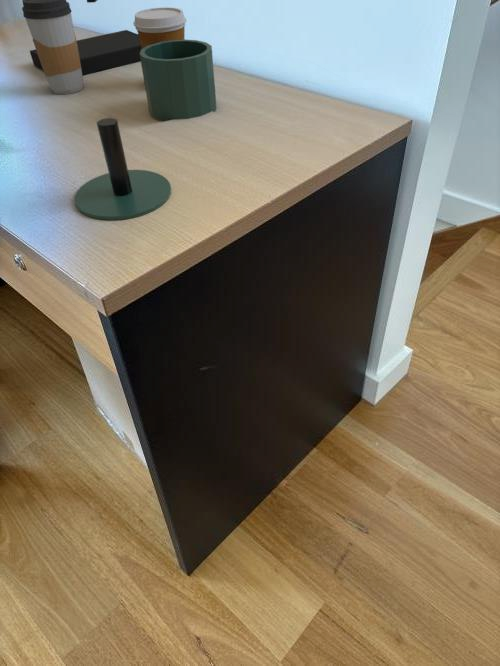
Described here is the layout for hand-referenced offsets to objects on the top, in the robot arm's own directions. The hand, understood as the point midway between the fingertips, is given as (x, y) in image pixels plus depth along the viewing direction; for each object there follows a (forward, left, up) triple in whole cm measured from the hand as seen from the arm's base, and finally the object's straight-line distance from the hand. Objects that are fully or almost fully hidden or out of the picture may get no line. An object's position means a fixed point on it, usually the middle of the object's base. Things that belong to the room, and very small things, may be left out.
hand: (27, 2), depth 50 cm
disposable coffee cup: (-40, +24, -23) cm, 52 cm away
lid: (0, +5, -22) cm, 23 cm away
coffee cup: (-48, +6, -23) cm, 54 cm away
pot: (-26, +22, -23) cm, 41 cm away
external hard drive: (-63, +15, -23) cm, 69 cm away
